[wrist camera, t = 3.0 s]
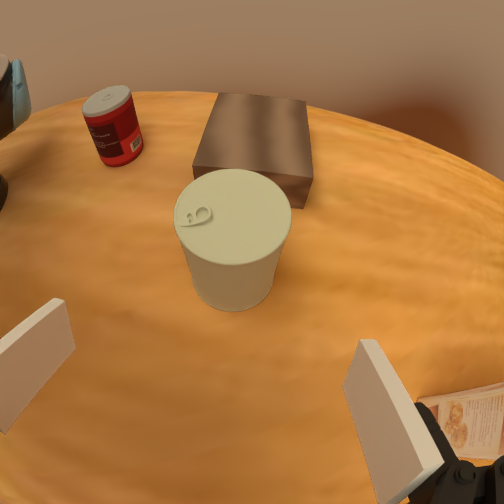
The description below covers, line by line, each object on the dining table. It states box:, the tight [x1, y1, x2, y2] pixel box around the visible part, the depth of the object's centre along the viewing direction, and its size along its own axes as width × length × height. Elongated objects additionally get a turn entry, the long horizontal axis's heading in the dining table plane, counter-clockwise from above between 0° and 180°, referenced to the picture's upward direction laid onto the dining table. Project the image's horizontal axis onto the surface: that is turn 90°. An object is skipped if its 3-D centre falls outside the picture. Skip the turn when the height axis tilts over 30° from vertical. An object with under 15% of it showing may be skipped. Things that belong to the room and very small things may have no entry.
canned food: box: [82, 85, 143, 167], centre depth 35 cm, size 8×8×11 cm
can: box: [173, 169, 292, 312], centre depth 26 cm, size 9×9×12 cm
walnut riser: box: [192, 93, 313, 209], centre depth 37 cm, size 14×18×6 cm
